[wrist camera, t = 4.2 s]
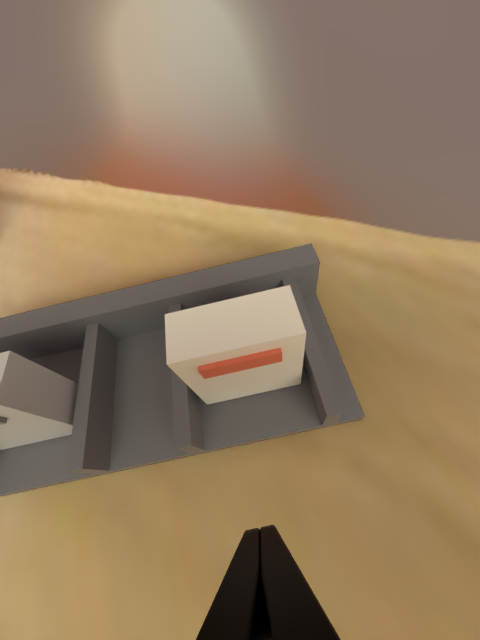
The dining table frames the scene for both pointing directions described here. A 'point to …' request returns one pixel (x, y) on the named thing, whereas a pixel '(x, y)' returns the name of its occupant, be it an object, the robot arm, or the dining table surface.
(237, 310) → the cream block
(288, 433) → the grey compartment tray
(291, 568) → the robot arm
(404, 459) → the dining table surface
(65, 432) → the white box
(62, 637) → the dining table surface
